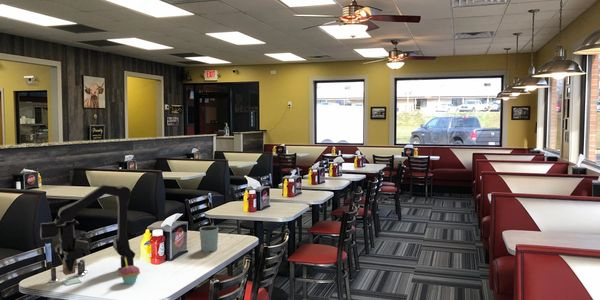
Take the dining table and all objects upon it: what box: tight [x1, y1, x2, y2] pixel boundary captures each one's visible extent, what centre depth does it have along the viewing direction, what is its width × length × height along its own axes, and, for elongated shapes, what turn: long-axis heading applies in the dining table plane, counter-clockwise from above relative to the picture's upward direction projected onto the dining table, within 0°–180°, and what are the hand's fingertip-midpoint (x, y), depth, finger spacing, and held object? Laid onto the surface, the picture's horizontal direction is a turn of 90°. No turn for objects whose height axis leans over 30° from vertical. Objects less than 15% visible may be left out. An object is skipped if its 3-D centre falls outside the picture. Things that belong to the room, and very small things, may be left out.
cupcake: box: [118, 258, 141, 285], centre depth 203 cm, size 9×8×12 cm
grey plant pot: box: [199, 225, 219, 253], centre depth 251 cm, size 10×10×12 cm
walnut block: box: [61, 260, 76, 276], centre depth 207 cm, size 4×4×6 cm
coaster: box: [62, 277, 82, 286], centre depth 205 cm, size 6×6×1 cm
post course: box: [48, 258, 88, 284], centre depth 216 cm, size 19×17×6 cm
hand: (69, 270), depth 207 cm, fingers closed on walnut block, 4 cm apart
